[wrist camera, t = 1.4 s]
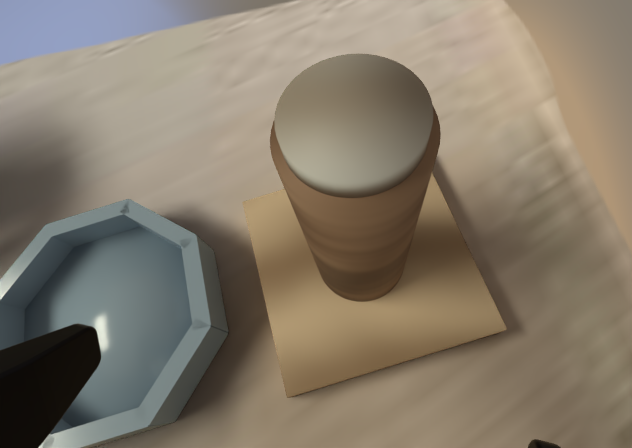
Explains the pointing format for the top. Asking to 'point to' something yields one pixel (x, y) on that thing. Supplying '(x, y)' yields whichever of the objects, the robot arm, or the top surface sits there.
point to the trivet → (371, 316)
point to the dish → (120, 315)
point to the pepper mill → (356, 167)
